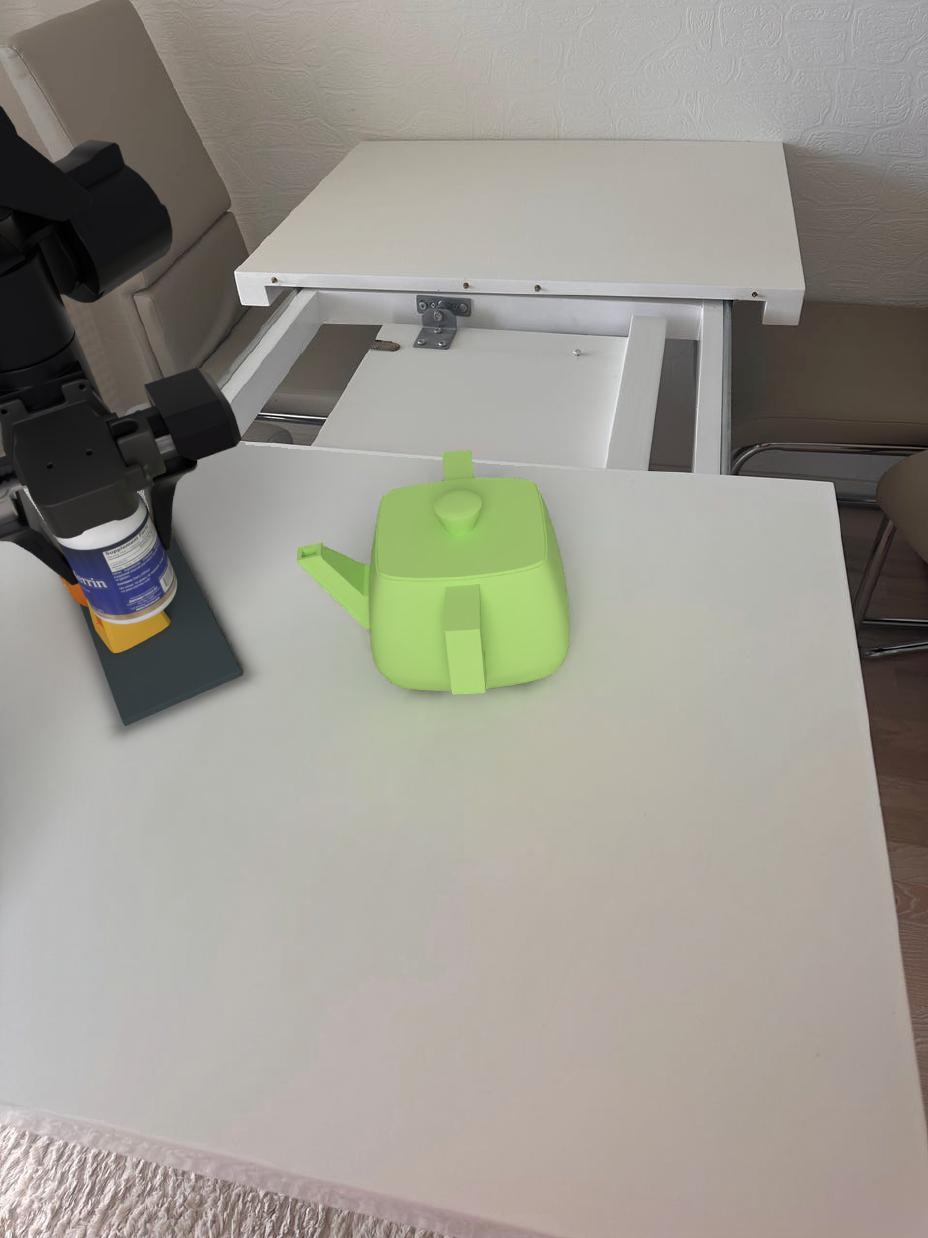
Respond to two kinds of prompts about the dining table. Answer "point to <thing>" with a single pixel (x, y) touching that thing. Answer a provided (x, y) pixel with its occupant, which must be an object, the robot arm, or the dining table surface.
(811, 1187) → the dining table surface
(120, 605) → the pill bottle
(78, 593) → the multicoloured piece
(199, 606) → the mat
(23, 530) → the robot arm
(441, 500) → the teapot
